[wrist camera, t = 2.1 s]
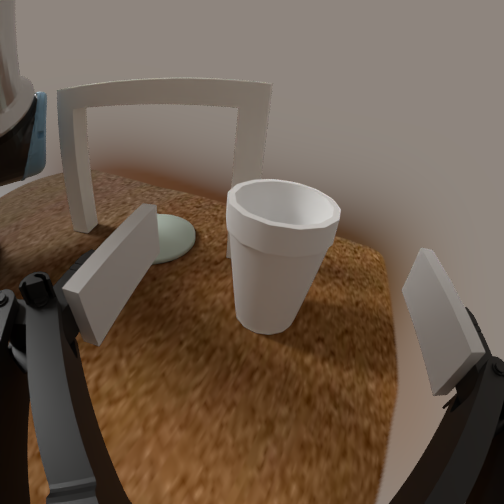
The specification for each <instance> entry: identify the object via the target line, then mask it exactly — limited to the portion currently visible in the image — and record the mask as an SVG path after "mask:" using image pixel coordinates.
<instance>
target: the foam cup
mask: <svg viewBox="0 0 504 504" xmlns="http://www.w3.org/2000/svg"><path fill="white" fill-rule="evenodd" d="M340 212H341V209H340V207H339V206H338V205H337V204H336V202H335V201H334V200H333V199H332V198H331V197H329V196H327V195H325V194H324V193H322V192H320V191H319V190H317V189H315V188H311V187H309V186H305V185H303V184H299V183H296V182H290V181H284V180H277V179H258V180H250V181H247V182H243V183H239V184H237V185H235V186H234V187H233V188H232V189H231V190H230V191H228V196H227V210H226V222H227V230H228V231H229V234H230V247H231V261H232V273H233V286H234V298H235V308H236V317H237V319H238V320H239V321H240V322H241V324H242V325H243V326H244V327H245V328H247V329H249V330H251V331H253V332H255V333H260V334H267V335H271V334H276V333H280V332H283V331H284V330H285V329H287V328H288V327H289V326H290V325H291V324H292V322H293V321H294V319H295V317H296V315H297V313H298V311H299V309H300V307H301V305H302V303H303V301H304V299H305V297H306V295H307V292H308V290H309V288H310V286H311V284H312V282H313V280H314V278H315V276H316V274H317V271H318V269H319V267H320V265H321V263H322V261H323V259H324V256H325V254H326V252H327V250H328V248H329V247H330V246H332V244H333V241H334V237H335V233H336V230H337V226H338V223H339V218H340Z"/></svg>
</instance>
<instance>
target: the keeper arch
mask: <svg viewBox="0 0 504 504" xmlns="http://www.w3.org/2000/svg"><path fill="white" fill-rule="evenodd" d="M272 85H273V84H272V83H265V82H255V81H244V80H232V79H213V78H154V79H136V80H123V81H113V82H104V83H96V84H88V85H82V86H75V87H70V88H65V89H61V90H57V106H58V125H59V138H60V149H61V157H62V165H63V173H64V180H65V186H66V192H67V198H68V204H69V209H70V214H71V219H72V224H73V228H74V231H78V232H84V233H89V232H90V231H91V230H92V229H93V228H94V227H95V226H96V225H97V224H98V221H97V215H96V208H95V202H94V195H93V188H92V180H91V171H90V162H89V150H88V136H87V116H86V108H87V107H99V106H112V105H135V104H184V105H207V106H221V107H233V108H238V117H237V128H236V138H235V150H234V162H233V173H232V186H231V189H232V188H233V187H234V186H235V185H237V184H239V183H243V182H247V181H250V180H258V179H261V175H262V167H263V158H264V151H265V142H266V135H267V126H268V118H269V110H270V101H271V94H272ZM157 221H158V234H159V246H160V253H159V254H158V256H157V257H156V259H155V260H154V262H153V263H152V264H160V263H165V262H169V261H172V260H175V259H177V258H179V257H181V256H183V255H184V254H186V253H187V252H188V251H189V250H190V249H191V248H192V247H193V245H194V243H195V230H194V227H193V226H192V225H191V224H190V223H189V222H188V221H186V220H185V219H183V218H180V217H177V216H173V215H167V214H157ZM226 258H231V247H230V234H229V231H228V241H227V257H226Z"/></svg>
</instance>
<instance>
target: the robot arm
mask: <svg viewBox="0 0 504 504" xmlns="http://www.w3.org/2000/svg"><path fill="white" fill-rule="evenodd" d="M46 108H47V95H46V93H44V92H36V93H34V88H33V84H32V83H31V81H30V80H29V79H27V78H26V77H23V76H20V71H19V63H18V55H17V43H16V27H15V0H0V186H3V185H7V184H10V183H13V182H17V181H23V180H25V178H27V177H31V176H34V175H37V174H39V173H40V172H41V171H42V170H43V169H44V167H45V164H46ZM159 253H160V246H159V234H158V221H157V206H156V205H151V204H142V205H141V206H140V207H139V208H137V209H136V210H135V211H134V212H133V213H132V214H131V215H130V216H129V217H128V218H127V219H126V220H125V221H124V222H123V223H122V224H121V225H120V226H119V227H118V228H117V229H116V230H115V231H114V232H113V233H112V234H111V235H110V236H109V237H108V238H107V239H106V240H105V241H104V242H103V243H102V244H101V245H100V246H99V248H98V249H97V250H92V249H91V250H90V251H88V252H86V253H85V254H83V255H81V257H80V258H79V259H78V260H77V261H76V262H75V264H73V265H72V266H71V267H70V268H69V270H67V272H66V273H65V274H64V275H63V276H62V277H61V278H60V279H59V280H58V282H57V283H56V284H55V285H54V286H52V283H51V280H50V277H49V275H48V274H47V273H45V272H41V271H40V272H34V273H32V274H29V275H28V276H26V277H25V278H24V279H23V280H22V281H21V283H20V285H19V290H20V292H21V294H22V296H23V298H24V300H17V299H16V297H15V295H14V293H13V291H11V290H9V289H5V290H1V291H0V504H30V495H29V483H28V461H27V439H28V416H29V403H30V401H31V408H32V415H33V421H34V426H35V432H36V437H37V442H38V446H39V450H40V455H41V459H42V463H43V466H44V470H45V474H46V477H47V480H48V484H49V488H50V494H49V495H48V496H47V498H46V504H132V503H131V502H130V500H129V499H128V497H127V495H126V493H125V491H124V489H123V487H122V485H121V482H120V480H119V478H118V476H117V473H116V471H115V469H114V466H113V464H112V461H111V459H110V456H109V454H108V451H107V448H106V446H105V443H104V440H103V437H102V434H101V432H100V429H99V426H98V422H97V419H96V416H95V413H94V410H93V406H92V403H91V399H90V396H89V392H88V388H87V384H86V380H85V376H84V372H83V367H82V363H81V358H80V353H79V348H78V343H77V341H76V339H75V337H76V336H77V334H78V333H79V331H80V333H81V336H82V338H83V340H84V341H85V342H88V343H91V344H93V345H96V346H100V345H101V343H102V341H103V340H104V338H105V336H106V335H107V333H108V331H109V330H110V328H111V326H112V325H113V323H114V321H115V320H116V318H117V317H118V315H119V313H120V312H121V310H122V309H123V307H124V305H125V304H126V302H127V301H128V299H129V298H130V296H131V295H132V293H133V292H134V290H135V288H136V287H137V285H138V284H139V282H140V281H141V279H142V278H143V276H144V275H145V273H146V272H147V270H148V269H149V268H150V266H151V265H152V263H153V262H154V260H155V259H156V257H157V256H158V254H159ZM402 293H403V295H404V298H405V301H406V304H407V307H408V310H409V313H410V316H411V319H412V322H413V325H414V328H415V331H416V334H417V338H418V341H419V344H420V348H421V351H422V354H423V358H424V361H425V365H426V369H427V373H428V376H429V381H430V385H431V389H432V393H433V396H437V395H447V394H448V393H449V392H450V391H451V390H452V389H453V388H454V387H456V390H457V394H455V396H453V397H452V398H451V399H450V400H449V401H448V402H447V403H446V404H445V405H444V406H443V409H445V407H447V406H448V409H447V411H446V413H445V415H444V417H443V419H442V421H441V423H440V425H439V427H438V429H437V430H436V432H435V434H434V436H433V438H432V440H431V441H430V443H429V445H428V446H427V448H426V450H425V452H424V453H423V455H422V457H421V458H420V460H419V461H418V463H417V465H416V466H415V468H414V469H413V471H412V472H411V474H410V475H409V477H408V478H407V480H406V481H405V483H404V484H403V485H402V487H401V488H400V490H399V491H398V492H397V494H396V495H395V496H394V498H393V499H392V500H391V502H390V503H389V504H504V362H503V361H502V360H501V359H499V358H498V357H494V356H492V354H491V352H490V350H489V347H488V345H487V343H486V340H485V338H484V336H483V334H482V333H481V329H480V327H479V326H478V323H477V321H476V319H475V317H474V315H473V314H472V313H471V312H470V311H469V309H468V308H467V307H464V305H463V303H462V301H461V299H460V297H459V295H458V293H457V291H456V289H455V287H454V286H453V284H452V282H451V280H450V278H449V277H448V275H447V273H446V271H445V270H444V268H443V266H442V265H441V263H440V261H439V260H438V258H437V256H436V255H435V253H434V251H433V250H431V249H425V248H420V251H419V253H418V255H417V258H416V260H415V262H414V264H413V266H412V269H411V271H410V274H409V275H408V277H407V280H406V282H405V284H404V286H403V288H402ZM8 342H9V346H8ZM465 502H466V503H465Z"/></svg>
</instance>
